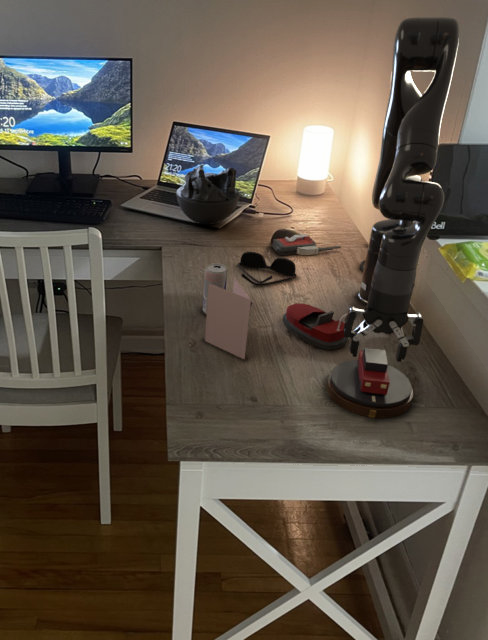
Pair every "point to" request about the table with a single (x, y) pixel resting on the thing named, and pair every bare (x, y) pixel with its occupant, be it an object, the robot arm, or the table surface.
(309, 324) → the bumper car
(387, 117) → the robot arm
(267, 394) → the table surface
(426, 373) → the table surface
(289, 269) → the sunglasses
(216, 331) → the greeting card
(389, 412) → the stand
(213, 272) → the energy drink
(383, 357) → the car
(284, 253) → the walkie-talkie
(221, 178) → the bowl of black rocks
